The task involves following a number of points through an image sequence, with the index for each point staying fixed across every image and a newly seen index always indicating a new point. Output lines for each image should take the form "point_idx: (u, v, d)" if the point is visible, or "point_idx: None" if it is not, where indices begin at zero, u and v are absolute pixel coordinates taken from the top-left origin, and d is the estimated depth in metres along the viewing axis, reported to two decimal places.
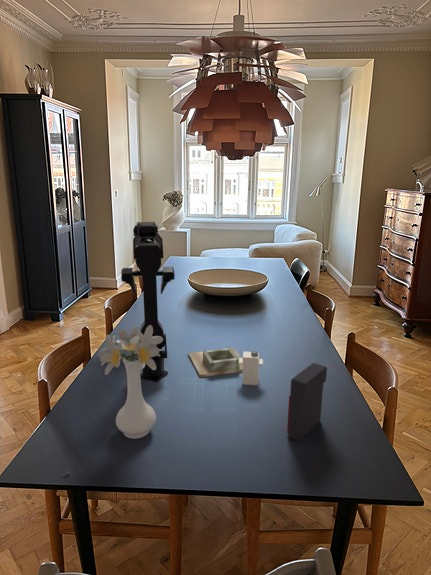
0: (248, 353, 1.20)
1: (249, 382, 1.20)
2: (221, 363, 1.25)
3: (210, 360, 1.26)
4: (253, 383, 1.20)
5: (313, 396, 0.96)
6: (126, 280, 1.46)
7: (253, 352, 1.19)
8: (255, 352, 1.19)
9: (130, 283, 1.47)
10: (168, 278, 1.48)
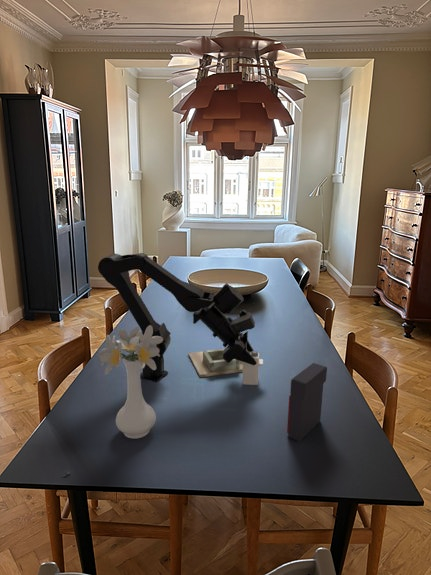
0: None
1: (249, 382, 1.20)
2: (221, 363, 1.25)
3: (210, 360, 1.26)
4: (253, 383, 1.20)
5: (313, 396, 0.96)
6: None
7: (253, 352, 1.19)
8: (255, 352, 1.19)
9: None
10: None
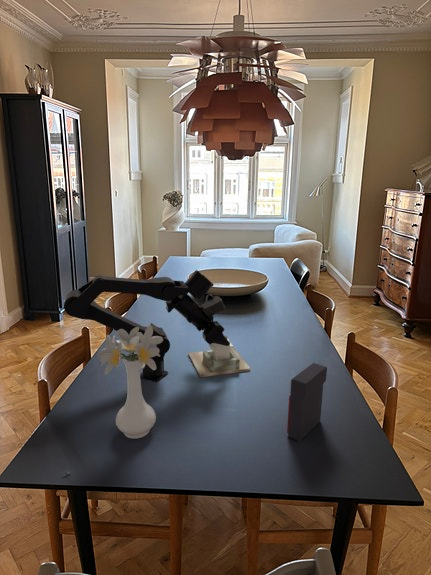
0: None
1: None
2: (221, 363, 1.25)
3: (210, 360, 1.26)
4: None
5: (313, 396, 0.96)
6: None
7: None
8: (225, 336, 1.28)
9: None
10: None
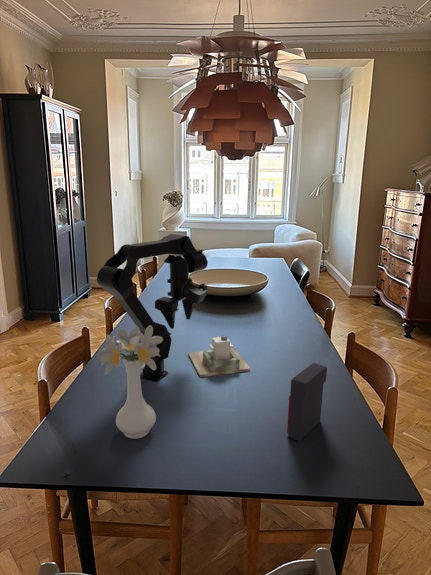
0: (218, 338, 1.29)
1: None
2: (221, 363, 1.25)
3: (210, 360, 1.26)
4: None
5: (313, 396, 0.96)
6: None
7: (223, 336, 1.28)
8: (225, 336, 1.28)
9: None
10: None
